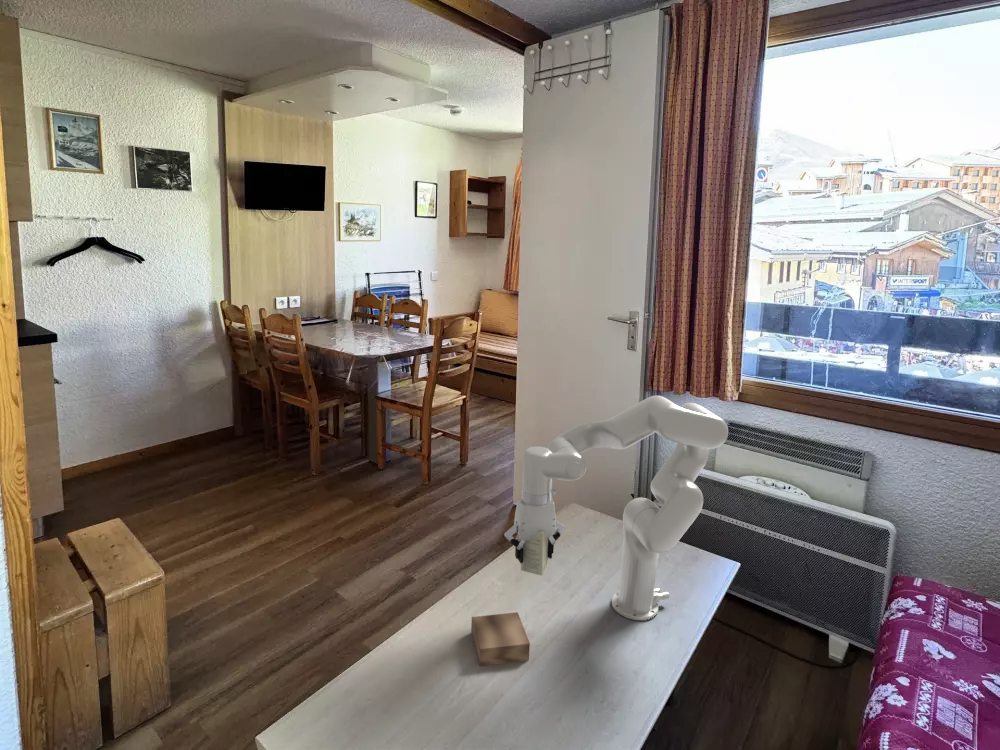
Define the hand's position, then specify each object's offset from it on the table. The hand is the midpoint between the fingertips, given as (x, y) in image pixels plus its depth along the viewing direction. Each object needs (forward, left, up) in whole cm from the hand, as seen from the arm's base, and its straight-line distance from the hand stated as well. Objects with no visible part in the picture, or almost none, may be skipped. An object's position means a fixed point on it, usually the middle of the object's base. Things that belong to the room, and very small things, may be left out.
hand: (534, 557), depth 159 cm
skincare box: (0, 0, -4) cm, 4 cm away
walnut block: (+12, +9, -18) cm, 23 cm away
